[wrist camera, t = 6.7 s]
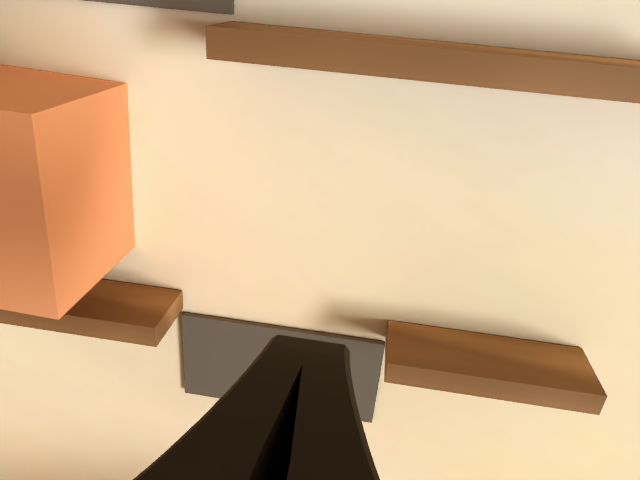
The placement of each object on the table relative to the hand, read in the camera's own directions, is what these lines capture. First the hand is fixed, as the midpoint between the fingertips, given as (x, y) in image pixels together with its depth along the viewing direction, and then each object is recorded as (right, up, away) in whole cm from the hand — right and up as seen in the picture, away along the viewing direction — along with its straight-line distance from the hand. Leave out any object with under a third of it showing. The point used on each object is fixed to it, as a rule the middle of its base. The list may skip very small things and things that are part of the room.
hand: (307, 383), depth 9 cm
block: (-9, +6, +9) cm, 14 cm away
